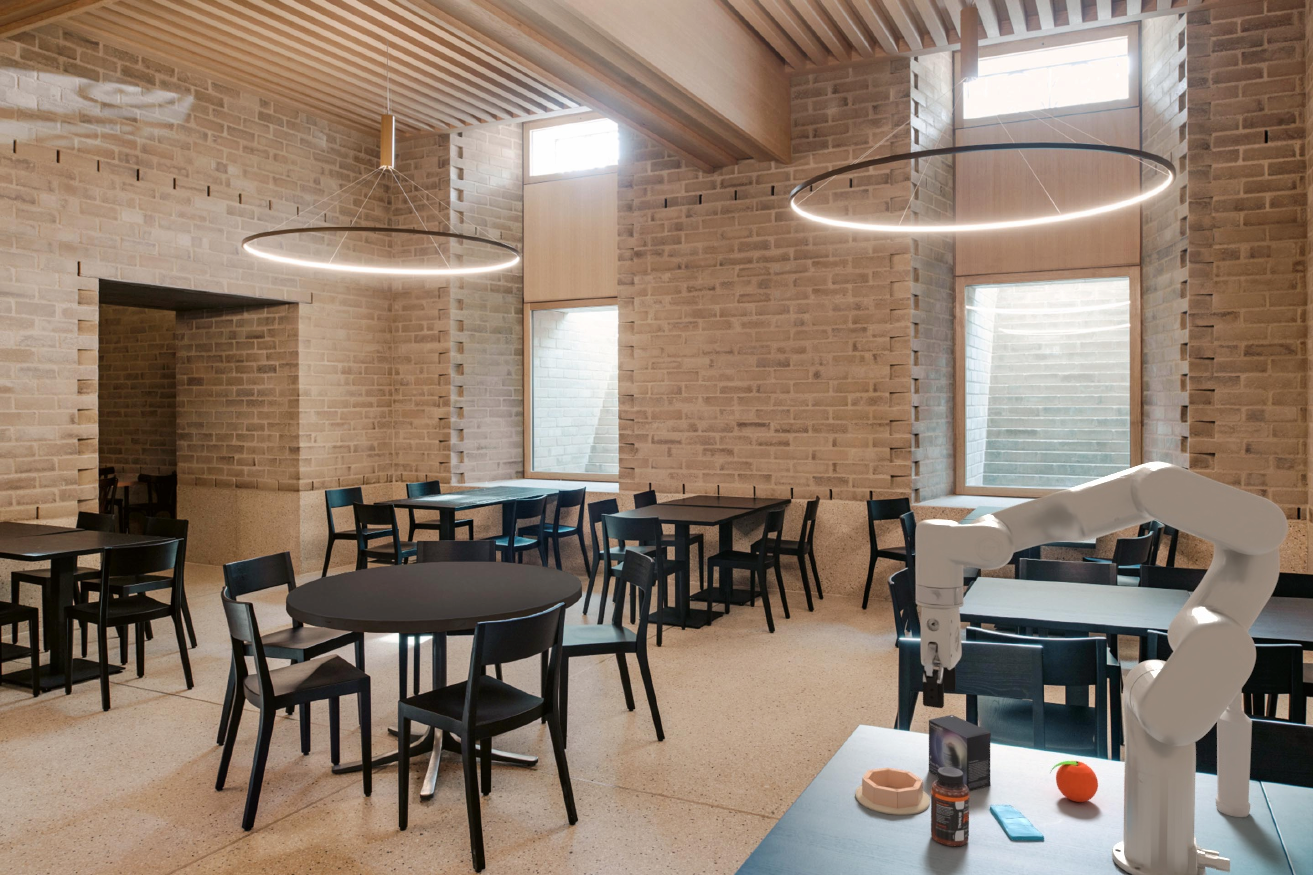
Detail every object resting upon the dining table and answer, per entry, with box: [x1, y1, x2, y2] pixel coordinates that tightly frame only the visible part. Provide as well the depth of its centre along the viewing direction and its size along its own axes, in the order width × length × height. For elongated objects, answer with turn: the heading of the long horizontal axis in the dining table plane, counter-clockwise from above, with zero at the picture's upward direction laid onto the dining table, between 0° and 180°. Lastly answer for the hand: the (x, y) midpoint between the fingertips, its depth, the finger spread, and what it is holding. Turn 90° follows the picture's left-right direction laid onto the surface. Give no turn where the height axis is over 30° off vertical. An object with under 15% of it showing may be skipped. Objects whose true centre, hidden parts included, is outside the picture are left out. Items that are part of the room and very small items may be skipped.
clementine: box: [1049, 760, 1099, 803], centre depth 163 cm, size 8×7×7 cm
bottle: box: [1215, 687, 1253, 818], centre depth 158 cm, size 5×5×25 cm
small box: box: [928, 714, 992, 792], centre depth 172 cm, size 11×6×10 cm, turn 25°
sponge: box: [988, 804, 1045, 842], centre depth 153 cm, size 2×12×6 cm
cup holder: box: [855, 767, 931, 816], centre depth 163 cm, size 13×13×4 cm
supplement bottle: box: [930, 767, 970, 847], centre depth 148 cm, size 6×6×11 cm
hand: (939, 697), depth 149 cm, fingers open, 9 cm apart
